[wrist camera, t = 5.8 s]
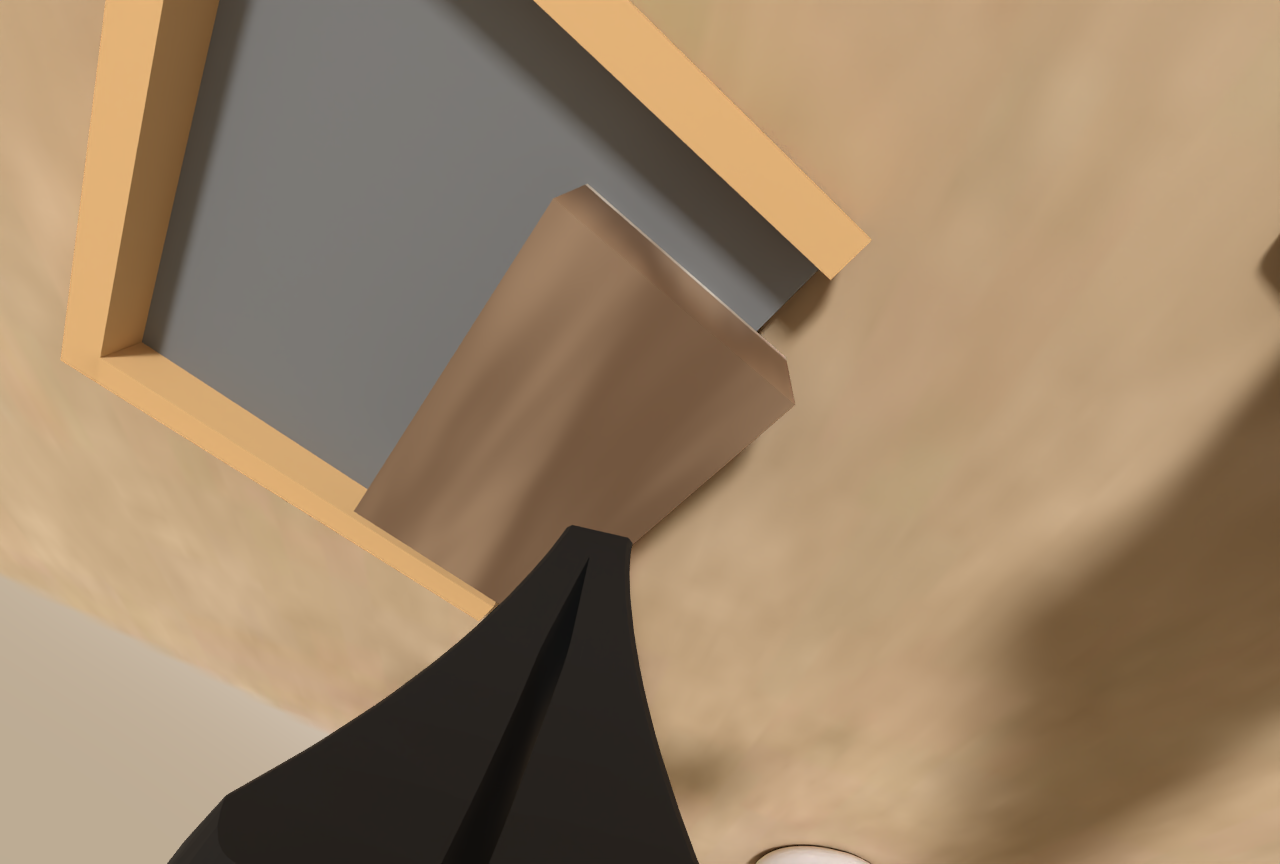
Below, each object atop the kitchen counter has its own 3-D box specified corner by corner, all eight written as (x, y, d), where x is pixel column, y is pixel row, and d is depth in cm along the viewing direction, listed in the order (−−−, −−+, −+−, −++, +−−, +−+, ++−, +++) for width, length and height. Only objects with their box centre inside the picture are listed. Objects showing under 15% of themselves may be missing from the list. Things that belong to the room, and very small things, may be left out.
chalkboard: (855, 225, 11) (872, 239, 10) (497, 585, 19) (478, 621, 18) (255, -368, 9) (163, -460, 7) (117, 339, 16) (60, 359, 15)
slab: (795, 405, 11) (553, 198, 9) (536, 627, 15) (353, 511, 14) (786, 357, 13) (587, 183, 12) (560, 566, 18) (403, 460, 16)
